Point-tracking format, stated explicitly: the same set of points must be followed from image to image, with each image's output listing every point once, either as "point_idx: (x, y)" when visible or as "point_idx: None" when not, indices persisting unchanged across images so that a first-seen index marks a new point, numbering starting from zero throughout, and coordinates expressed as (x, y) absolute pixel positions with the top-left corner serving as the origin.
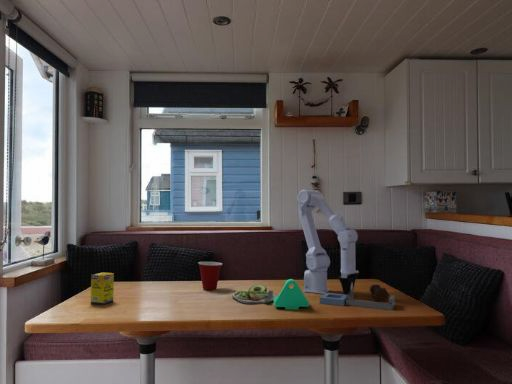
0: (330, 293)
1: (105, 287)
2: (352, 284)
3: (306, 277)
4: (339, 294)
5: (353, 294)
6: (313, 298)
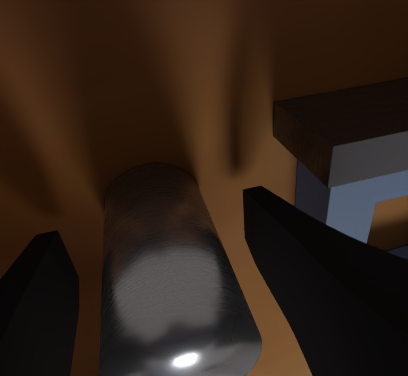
0: None
1: None
2: (177, 284)
3: None
4: None
5: (311, 128)
6: None
